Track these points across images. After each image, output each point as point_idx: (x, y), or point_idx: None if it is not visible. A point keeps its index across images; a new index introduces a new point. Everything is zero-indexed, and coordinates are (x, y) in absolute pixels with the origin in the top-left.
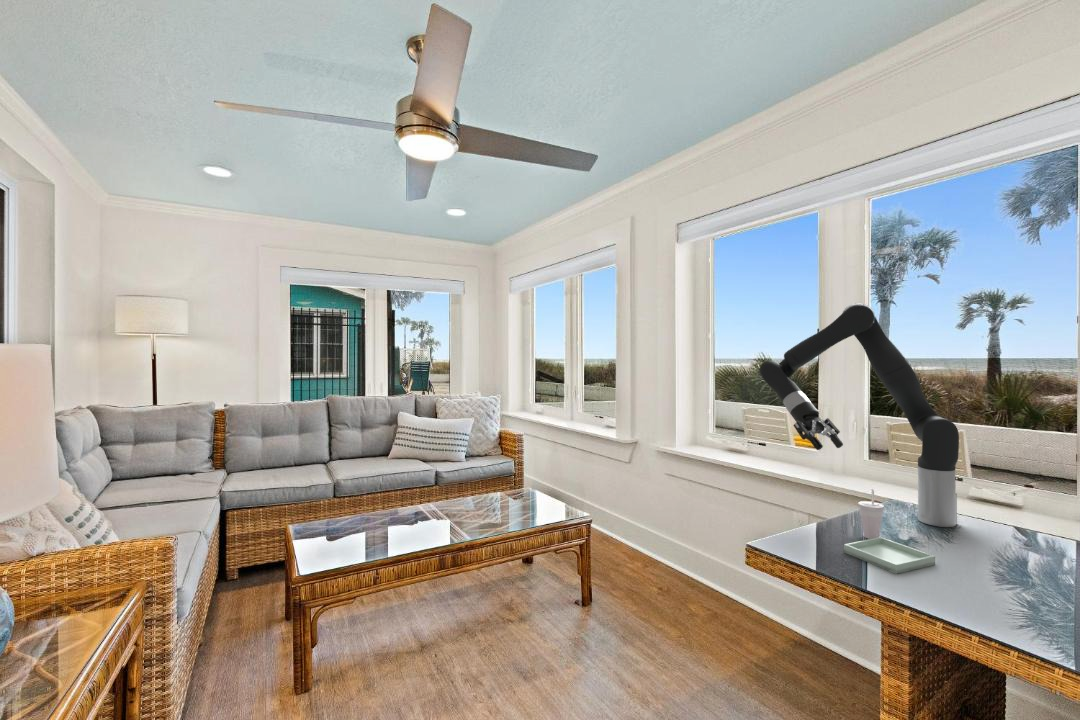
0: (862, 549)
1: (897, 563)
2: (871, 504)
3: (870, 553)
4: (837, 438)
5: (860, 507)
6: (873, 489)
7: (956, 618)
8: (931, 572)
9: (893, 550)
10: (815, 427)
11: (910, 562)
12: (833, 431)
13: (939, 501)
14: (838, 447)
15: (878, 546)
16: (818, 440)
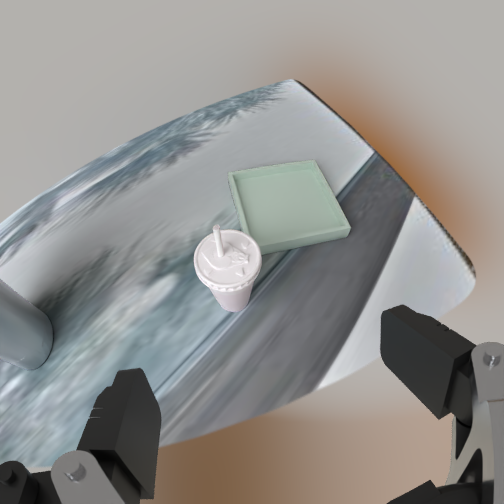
0: (314, 229)
1: (309, 162)
2: (232, 248)
3: (311, 213)
4: (119, 413)
5: (261, 261)
6: (215, 226)
7: (319, 110)
8: None
9: (258, 218)
10: (495, 461)
11: (285, 164)
12: (75, 492)
13: (15, 293)
14: (157, 402)
15: (272, 236)
16: (426, 333)
